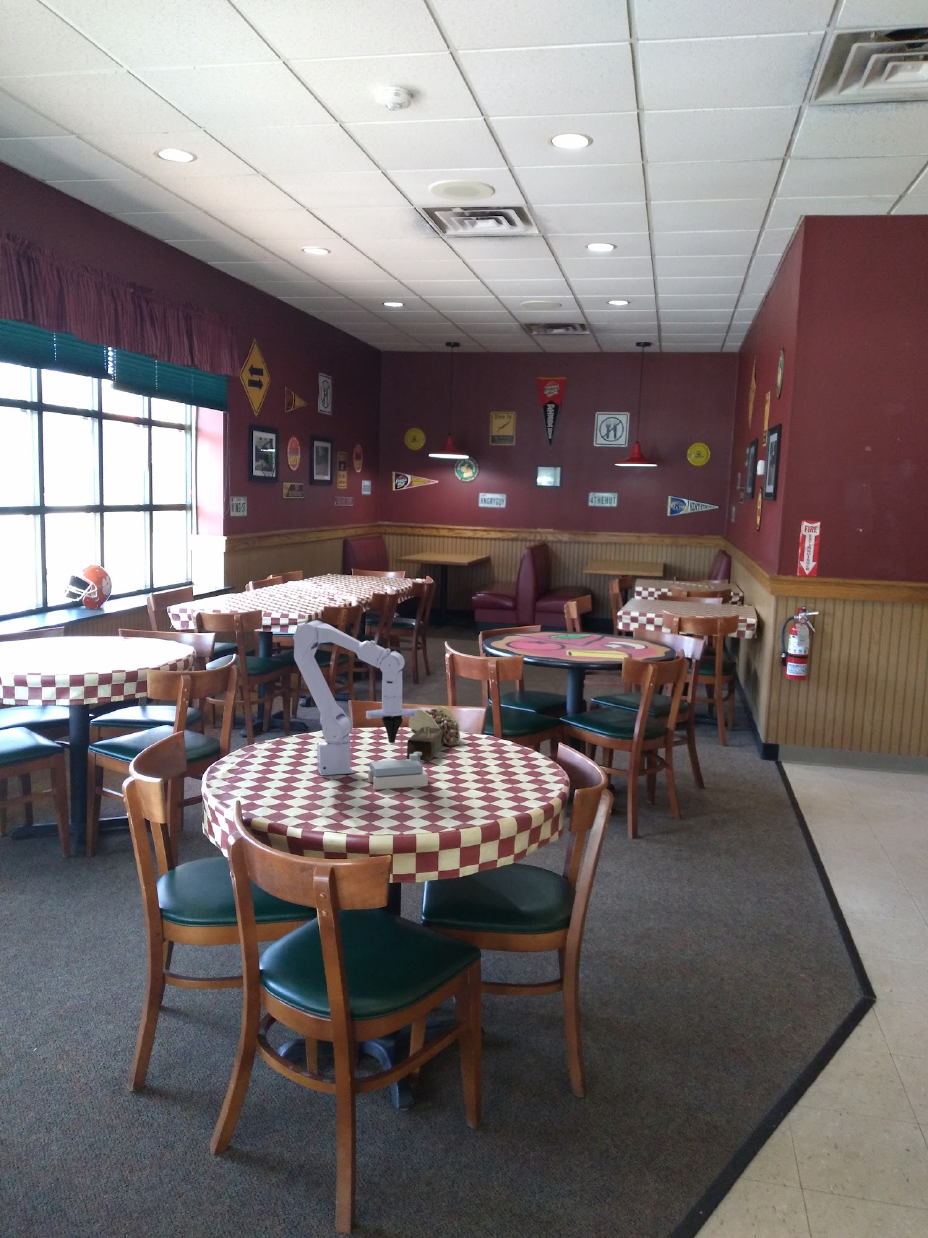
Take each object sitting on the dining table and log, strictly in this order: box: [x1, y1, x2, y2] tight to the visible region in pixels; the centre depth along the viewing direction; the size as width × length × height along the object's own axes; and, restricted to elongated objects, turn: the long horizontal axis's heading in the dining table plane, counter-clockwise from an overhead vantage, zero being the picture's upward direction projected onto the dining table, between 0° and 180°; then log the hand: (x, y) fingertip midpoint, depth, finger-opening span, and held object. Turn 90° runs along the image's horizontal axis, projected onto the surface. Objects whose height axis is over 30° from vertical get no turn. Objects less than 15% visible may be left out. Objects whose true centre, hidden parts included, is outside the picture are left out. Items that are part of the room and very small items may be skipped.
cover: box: [369, 752, 424, 776], centre depth 255 cm, size 15×10×3 cm, turn 108°
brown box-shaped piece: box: [406, 726, 444, 762], centre depth 287 cm, size 8×19×7 cm, turn 169°
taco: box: [408, 705, 461, 747], centre depth 306 cm, size 10×27×10 cm, turn 32°
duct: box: [367, 756, 429, 790], centre depth 254 cm, size 15×10×6 cm, turn 107°
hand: (391, 742), depth 261 cm, fingers closed
